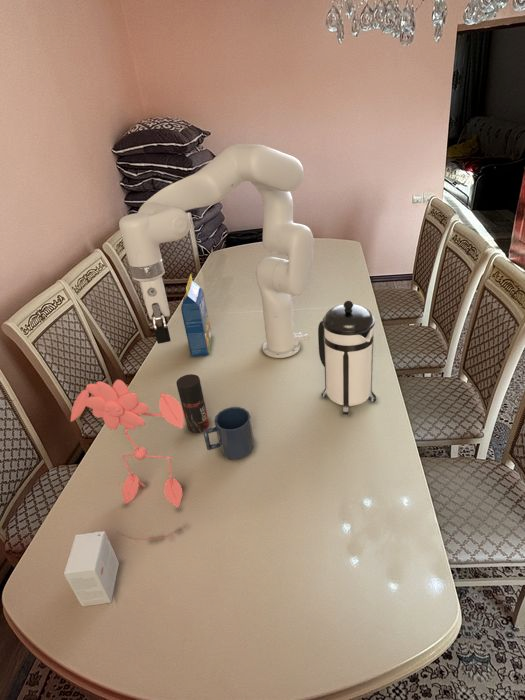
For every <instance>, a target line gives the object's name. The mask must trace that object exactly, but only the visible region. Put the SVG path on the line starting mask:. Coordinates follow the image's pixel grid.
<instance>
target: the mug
mask: <svg viewBox="0 0 525 700" xmlns="http://www.w3.org/2000/svg"><path fill="white" fill-rule="evenodd" d="M213 422H214V426H213V427H210V428H209V427H208V429H206V430H204V431H203V432H202V433H203V438H204V442H205V447H206V450H207V451H211V450H214V449H215V450H216V449H219V451H220V454H221V455H222V456H223V457H224V458H225V459H228V460H232V461H237V460H243V459H246V458H247V457H249V456H250V455H251V454H252V453H253V451H254V449H255V439H254V432H253V425H252V418H251V415H250V412H249V411H248V410H247V409H245V408H243V407H239V406H231V407H227V408H223V409H222V410H221V411H218V413H217V414H216V415H215V417H214V420H213ZM212 433H216V437H217V442H216V443H214V444H211V440H210V435H209V434H212Z"/></svg>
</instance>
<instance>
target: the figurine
mask: <svg viewBox="0 0 525 700" xmlns="http://www.w3.org/2000/svg"><path fill="white" fill-rule="evenodd" d="M90 394H91V395H92V396H90ZM158 405H159V406H158V407H159V411H160V413H157V412H156V413H155V412H148V411H149V409H150V407H149V406H148V404H146V403H145V402H141V401H139V396H138V394H137V393H135V392H130V390H129V387H128V385H127V384H126V383H125V382H124V381H123V380H122V379H116V380H115V381H114V382H113V384H112V386H111V385H109V384H108V383H106V382H104V381H100V380H98V381H97V382H96V383H87V384H86V388H85V389H83V390H81V392H79V394H78V395H77V397H76V398H75V400H74V402H73V406H72V409H71V414H70V422H74V421H75V420H77V418H79V417H80V416H81V415H82V414H83V412H84V410H85V409H86V408H89V409H92V415H93V416H94V417H95V418H97V419H98V418H99V419H101V418H102V421H103V422H104V424H105V425H106V427H107V428H108V429H109V430H113V431H114V430H117V429H118V428H119V426H120V425H121V426H123V427H124V428H125V430H124V436H125V437H126V439H128V440H129V442H130V444H132V446H133V447H134V451H133V454H122V455H121V456H122V459H123V462H124V464H125V466H126V469H127V471H128V473H129V475H128V476H127V478H126V479H125V480H124V481H123V482H124V483H123V485H122V491H121V493H122V500H123V503H124V505H127V504H128V503H130V502H131V501H132V500H133V499H135V498H136V496H137V494H138V491H139V488H140V486H141V487H143V488H145V486H146V484H144V483H143V482H142V481H140V478H139V477H138V474H135V473H132V472H131V469H130V467H129V465H128V462H127V460H126V458H125V457H134V458H135V459H137V460H140V461H141V460H144V459H145V458H156V459H157V458H158V459H168V470H169V478H168V479H167V480H166V481H165V483H164V495H165V498H166V499H167V501H168V502H169V503H170V504H172V505H173V506H174V507H176V508H180V505H181V503H182V502H181V501H182V499H183V488H182V485H181V483H179V481H178V480H177V479H176V478H173V476H172V463H171V457H170V456H166V455H152V454H150V455H149V454H148V450H147V448H146V447H144V446H137V444H136V443H135V442H134V440H133V439H132V438H131V436H130V434H129V433H128V432H129V430H132V431H134V430H135V429H136V427H142V426H143V427H144V426H145V425H146V421H145V419H144V418H143V417H142V416H149V417H150V416H151V417H163V418H164V419H165V420H166V422H167V423H168V424H170V425H172V426H173V427H174V426H175V427H176V428H180V429H184V428H183V427H184V422H185V421H184V420H185V416H184V412H183V408H182V404H181V403H180V402H179V401H178V400H177V399H176V398H175V397H173V396H172V395H171V394H166V393H165V392H160V398H159V401H158ZM140 415H142V416H140ZM117 485H120V483H118V484H117ZM185 527H186V525H184V526H183V527H182V528H180V529H178V530H176V531H173V532H172V533H170V534H167V535H164V536H162V537H160V539H161V540H165V539H167V538H169V536H171V535H173V534H175V533H177V532H179V531H181V530H182V529H184V528H185ZM116 532H117V533H119V534H120V535H122V536H124V537H126V538H128V539H131V540H134V538H133V537H128V536H127V535H124V534H122V533H121V532H119V531H118V530H117V531H116ZM158 539H159V537H156V538H151V539H150V538H148V539H147V541H152V540H158ZM135 540H137V541H135V543H138V541H141V539H137V538H135Z"/></svg>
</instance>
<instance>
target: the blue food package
mask: <svg viewBox="0 0 525 700" xmlns="http://www.w3.org/2000/svg"><path fill="white" fill-rule="evenodd" d="M186 284H187V285H186V286H185V292H184V293H185V294H184V296H183V299H182V303H181V307H180V309H181V311H180V312H181V316H182V320H183V321H182V322H183V325H184V329H185V334H186V339H187V344H188V349H189V353H190V357H201V356H209V354H210V352H211V346H212V338H213V335H212V331H211V326H210V319H209V314H208V308H207V303H206V297H205V293H204V291H203V288H202V287H201V286H200V285H199V284H198V283H196V282H195V281H194V280H193V276H192V274H190V275H189V277H188V280H187V283H186Z"/></svg>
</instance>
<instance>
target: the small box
mask: <svg viewBox="0 0 525 700" xmlns="http://www.w3.org/2000/svg"><path fill="white" fill-rule="evenodd" d="M73 538H74V539H73V541H72V545H71V548H70V551H69V554H68V558H67V561H66V564H65V567H64V571H63V576H64V578H65V579H66V581H67V584H68V585H69V587H70V588H71V590H72V591H73V594H74V595H75V597H76V598H77V600H78V602H79V603H80V606H81V607H90V606H96V605H105V604H111V603H112V601H113V595H114V591H115V586H116V581H117V576H118V572H119V571H118V570H119V565H120V562H119V560H118V558H117V555H116V553H115V550H114V549H113V546H112V544H111V542H110V539H109V538H108V535H107V533H106V531H105V530H103V531H95V532H88V533H87V532H86V533H79V534H75V535H74V537H73Z"/></svg>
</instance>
